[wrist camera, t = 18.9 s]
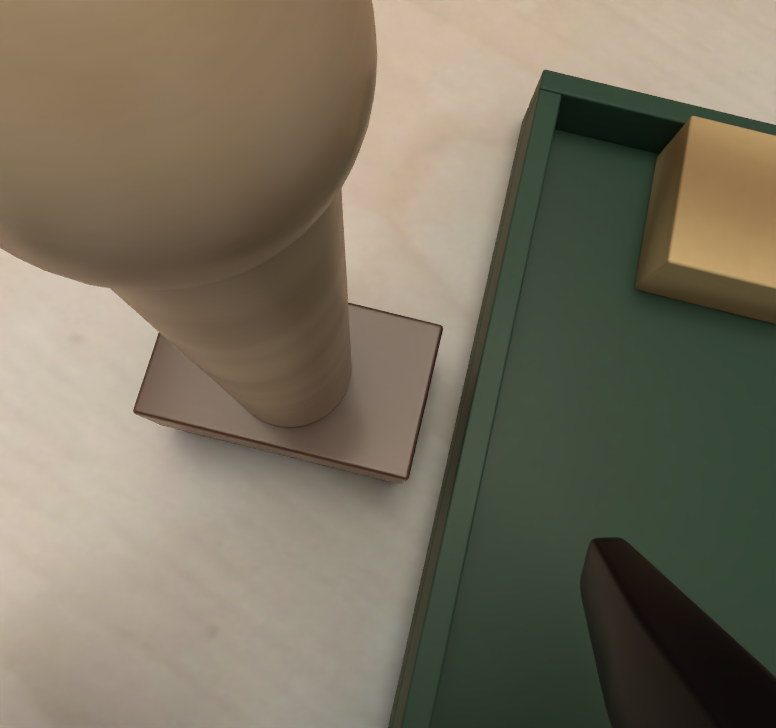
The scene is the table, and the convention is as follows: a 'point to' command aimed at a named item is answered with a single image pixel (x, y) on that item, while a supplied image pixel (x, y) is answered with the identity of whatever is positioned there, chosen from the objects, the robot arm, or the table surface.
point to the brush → (215, 211)
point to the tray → (589, 433)
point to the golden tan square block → (713, 220)
